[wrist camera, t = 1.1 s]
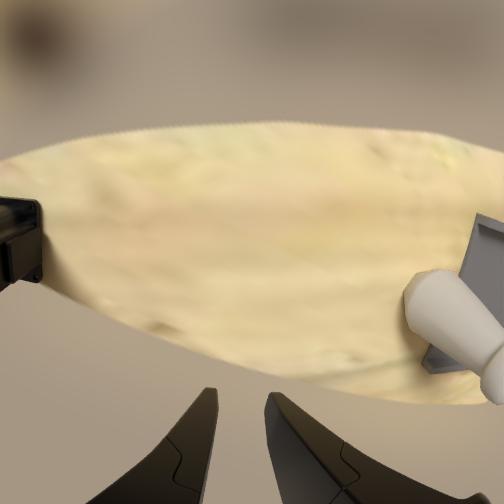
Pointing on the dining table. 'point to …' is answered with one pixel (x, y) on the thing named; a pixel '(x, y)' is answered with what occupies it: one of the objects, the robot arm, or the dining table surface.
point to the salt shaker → (458, 326)
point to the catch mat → (478, 282)
